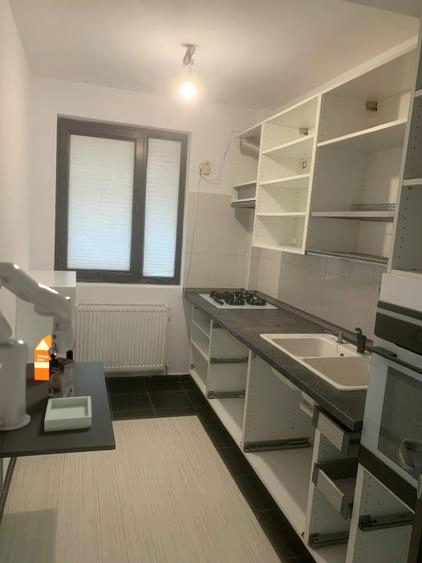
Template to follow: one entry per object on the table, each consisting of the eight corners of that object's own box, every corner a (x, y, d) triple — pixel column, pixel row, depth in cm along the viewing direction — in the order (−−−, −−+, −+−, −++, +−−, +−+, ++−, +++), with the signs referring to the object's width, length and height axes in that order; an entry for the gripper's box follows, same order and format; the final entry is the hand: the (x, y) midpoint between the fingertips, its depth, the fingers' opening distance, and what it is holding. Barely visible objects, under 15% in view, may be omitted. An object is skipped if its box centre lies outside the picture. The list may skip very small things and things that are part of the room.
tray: (91, 427, 149) (91, 416, 148) (44, 431, 144) (44, 420, 143) (90, 405, 168) (90, 396, 167) (48, 408, 163) (48, 398, 162)
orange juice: (57, 374, 203) (57, 334, 201) (50, 380, 194) (50, 339, 192) (41, 373, 203) (41, 334, 201) (34, 379, 194) (34, 338, 192)
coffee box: (47, 396, 175) (47, 359, 173) (59, 391, 181) (59, 356, 179) (62, 401, 171) (63, 363, 169) (74, 396, 176) (75, 359, 175)
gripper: (56, 330, 163) (56, 371, 166) (82, 321, 180) (82, 359, 182) (40, 328, 166) (41, 368, 168) (67, 320, 182) (67, 356, 184)
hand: (62, 363), depth 175 cm, fingers open, 9 cm apart
